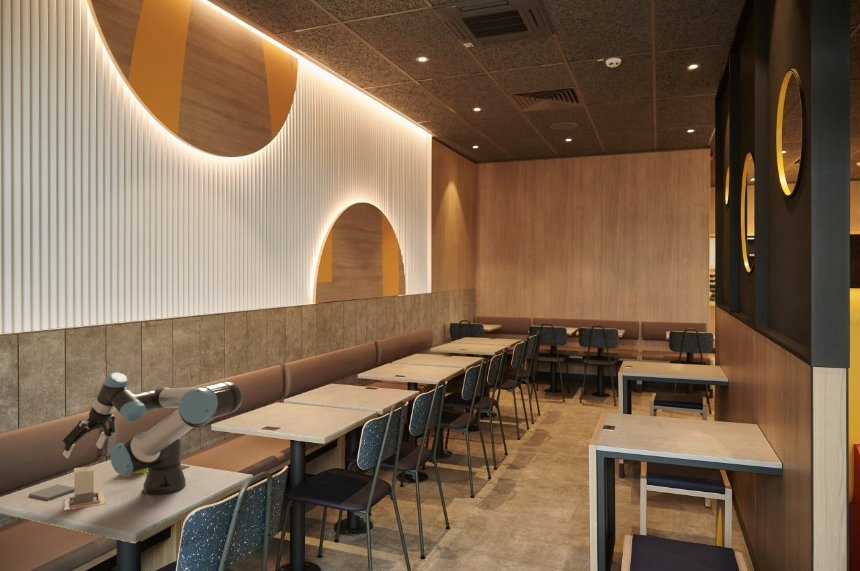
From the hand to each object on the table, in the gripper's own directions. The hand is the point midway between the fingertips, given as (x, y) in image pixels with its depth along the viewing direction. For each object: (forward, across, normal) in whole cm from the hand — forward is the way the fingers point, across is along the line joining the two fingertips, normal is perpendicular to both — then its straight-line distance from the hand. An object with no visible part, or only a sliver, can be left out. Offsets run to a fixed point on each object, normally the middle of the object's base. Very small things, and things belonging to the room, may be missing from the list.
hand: (82, 451), depth 228 cm
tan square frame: (+5, +8, +19) cm, 21 cm away
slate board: (+16, +8, +3) cm, 18 cm away
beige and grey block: (+5, +8, +19) cm, 21 cm away
